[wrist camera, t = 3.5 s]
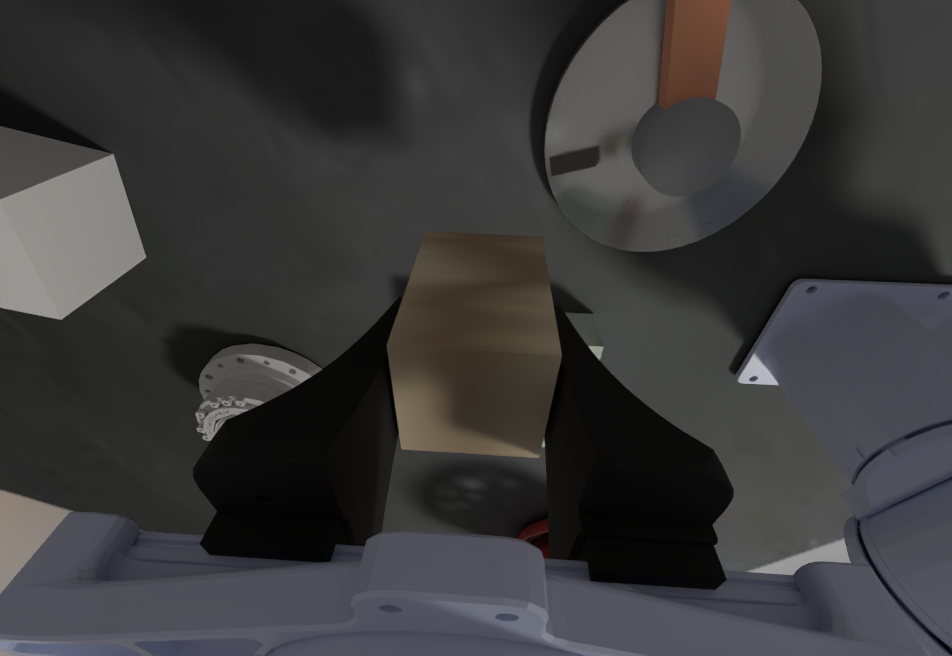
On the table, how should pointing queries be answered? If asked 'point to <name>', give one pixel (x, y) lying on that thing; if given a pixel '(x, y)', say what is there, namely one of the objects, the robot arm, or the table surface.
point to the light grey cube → (60, 224)
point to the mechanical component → (246, 381)
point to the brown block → (475, 346)
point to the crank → (688, 104)
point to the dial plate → (637, 89)
